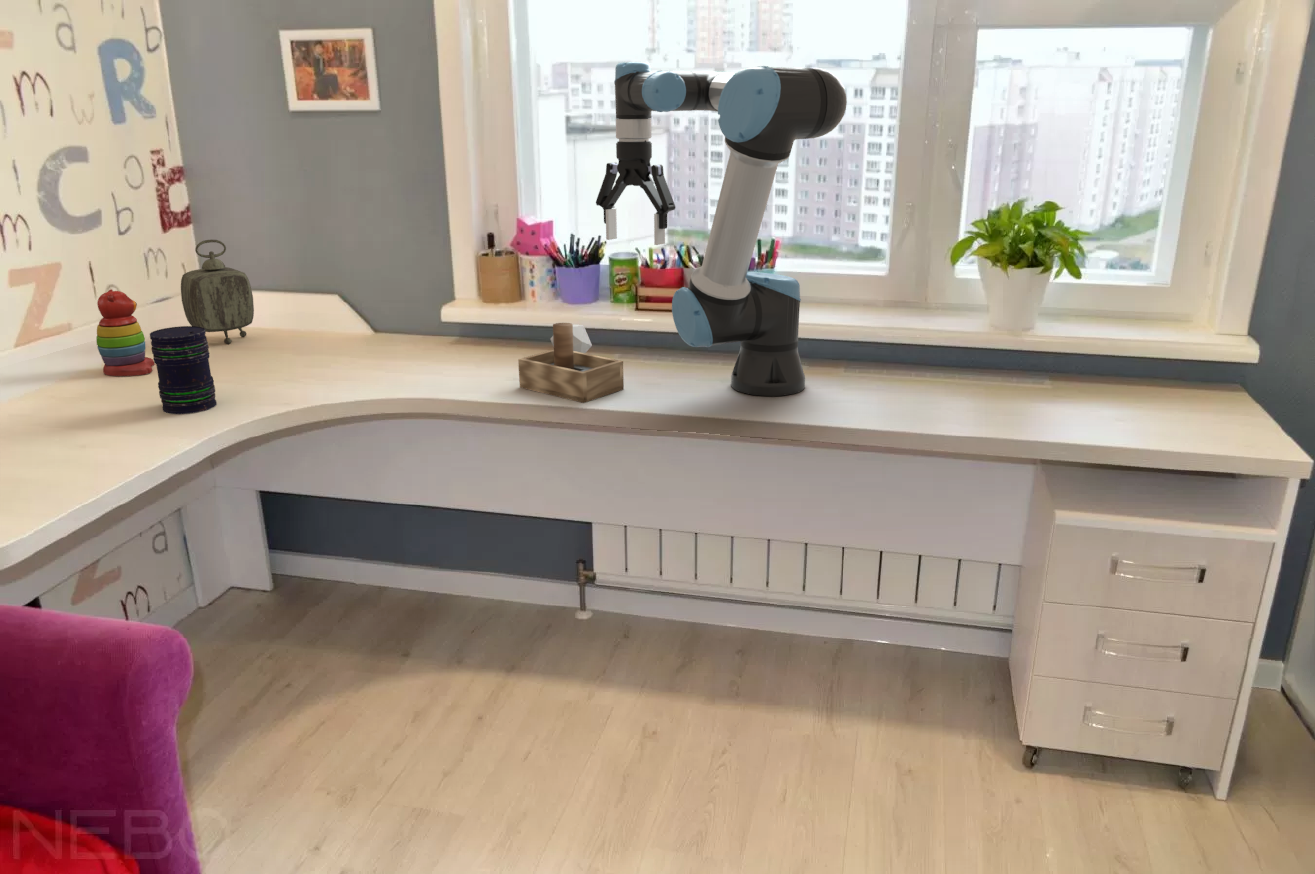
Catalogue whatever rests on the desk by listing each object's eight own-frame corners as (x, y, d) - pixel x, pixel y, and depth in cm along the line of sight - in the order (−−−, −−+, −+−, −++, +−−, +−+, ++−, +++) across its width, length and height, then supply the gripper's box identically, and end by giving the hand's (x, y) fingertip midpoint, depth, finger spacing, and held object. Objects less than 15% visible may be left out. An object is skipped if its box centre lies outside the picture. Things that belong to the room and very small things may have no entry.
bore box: (623, 389, 204) (623, 361, 202) (583, 403, 195) (582, 373, 193) (560, 375, 215) (559, 347, 213) (519, 387, 206) (518, 359, 204)
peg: (578, 381, 206) (576, 324, 202) (564, 385, 203) (563, 327, 199) (564, 378, 208) (562, 321, 205) (550, 382, 206) (548, 325, 202)
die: (598, 359, 230) (583, 322, 232) (592, 349, 222) (577, 310, 224) (565, 372, 230) (551, 335, 232) (558, 363, 222) (543, 324, 224)
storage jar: (151, 413, 190) (137, 336, 185) (181, 398, 200) (168, 325, 195) (199, 415, 189) (187, 338, 184) (227, 400, 198) (216, 326, 193)
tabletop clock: (248, 335, 252) (234, 235, 244) (261, 341, 246) (247, 239, 238) (188, 344, 243) (172, 240, 235) (200, 350, 237) (183, 244, 229)
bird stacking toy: (151, 374, 217) (137, 293, 211) (99, 379, 213) (83, 297, 208) (155, 362, 226) (141, 284, 221) (105, 367, 223) (90, 288, 217)
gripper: (692, 140, 206) (691, 244, 213) (601, 138, 221) (603, 235, 228) (669, 142, 200) (670, 248, 207) (578, 139, 215) (581, 238, 222)
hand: (635, 241), depth 217 cm, fingers open, 13 cm apart
